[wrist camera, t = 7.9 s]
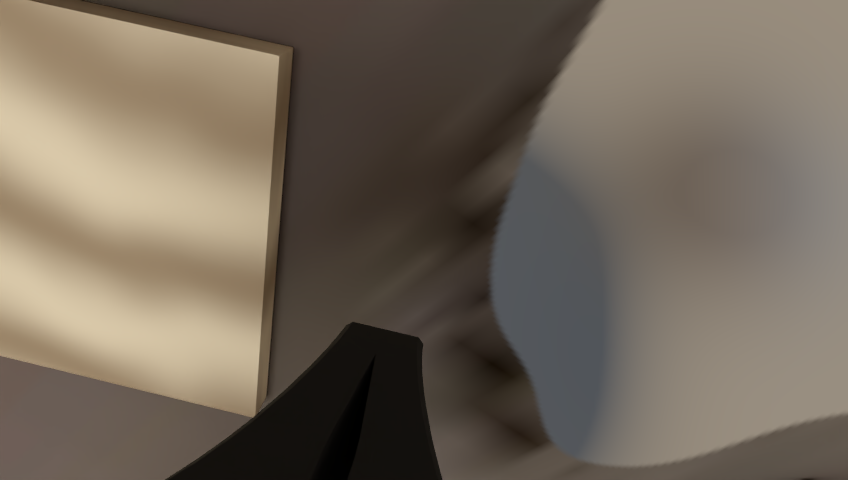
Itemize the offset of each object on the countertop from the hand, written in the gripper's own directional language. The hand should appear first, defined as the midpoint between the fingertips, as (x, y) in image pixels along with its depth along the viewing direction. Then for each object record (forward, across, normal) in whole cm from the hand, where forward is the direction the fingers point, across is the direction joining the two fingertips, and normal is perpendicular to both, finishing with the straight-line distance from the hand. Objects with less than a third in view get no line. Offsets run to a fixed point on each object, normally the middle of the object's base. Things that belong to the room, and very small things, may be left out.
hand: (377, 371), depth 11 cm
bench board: (+9, +17, +4) cm, 20 cm away
